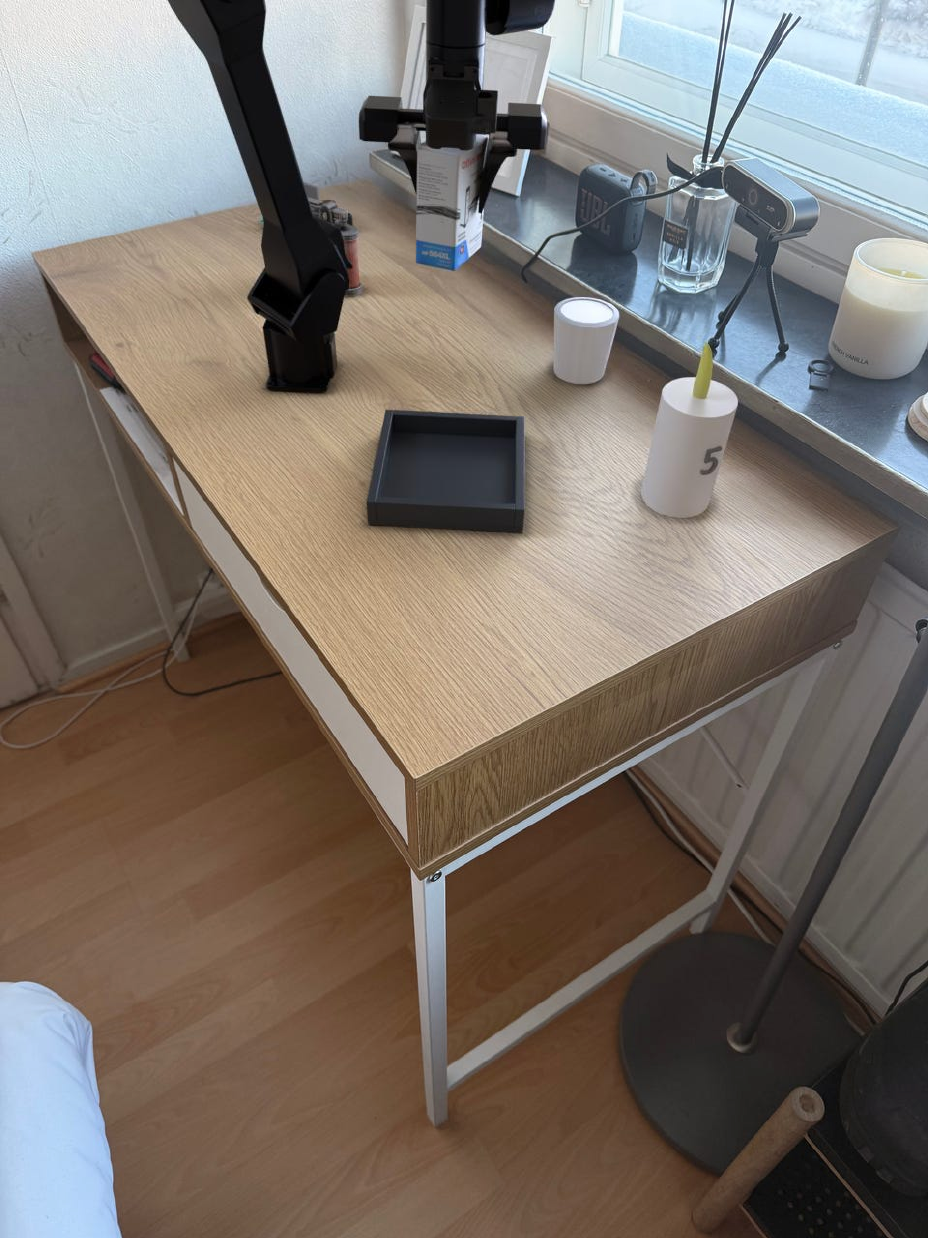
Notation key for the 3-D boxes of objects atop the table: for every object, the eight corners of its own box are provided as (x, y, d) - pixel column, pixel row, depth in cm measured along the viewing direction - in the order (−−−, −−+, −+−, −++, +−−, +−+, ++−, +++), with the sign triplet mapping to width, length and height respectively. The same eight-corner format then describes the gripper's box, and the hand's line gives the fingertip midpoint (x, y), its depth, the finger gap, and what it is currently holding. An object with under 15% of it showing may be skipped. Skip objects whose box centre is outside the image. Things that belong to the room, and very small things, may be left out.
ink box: (454, 273, 94) (460, 155, 86) (412, 263, 95) (415, 146, 87) (483, 246, 100) (492, 133, 92) (443, 237, 101) (448, 125, 93)
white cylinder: (607, 390, 93) (617, 329, 88) (543, 382, 94) (550, 321, 89) (612, 359, 98) (622, 299, 93) (551, 352, 99) (558, 292, 94)
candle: (667, 526, 77) (705, 375, 67) (627, 485, 81) (657, 336, 71) (724, 508, 79) (770, 359, 68) (683, 469, 83) (720, 322, 73)
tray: (367, 525, 76) (366, 501, 74) (386, 431, 87) (385, 409, 85) (522, 533, 76) (524, 509, 74) (522, 438, 86) (524, 416, 84)
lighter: (367, 289, 108) (362, 206, 101) (350, 299, 106) (344, 214, 99) (316, 272, 111) (309, 190, 104) (299, 282, 109) (290, 199, 102)
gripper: (347, 57, 77) (356, 235, 88) (556, 67, 77) (539, 244, 88) (362, 28, 85) (368, 195, 96) (551, 38, 85) (536, 204, 96)
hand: (451, 210), depth 94 cm, fingers closed on ink box, 6 cm apart
